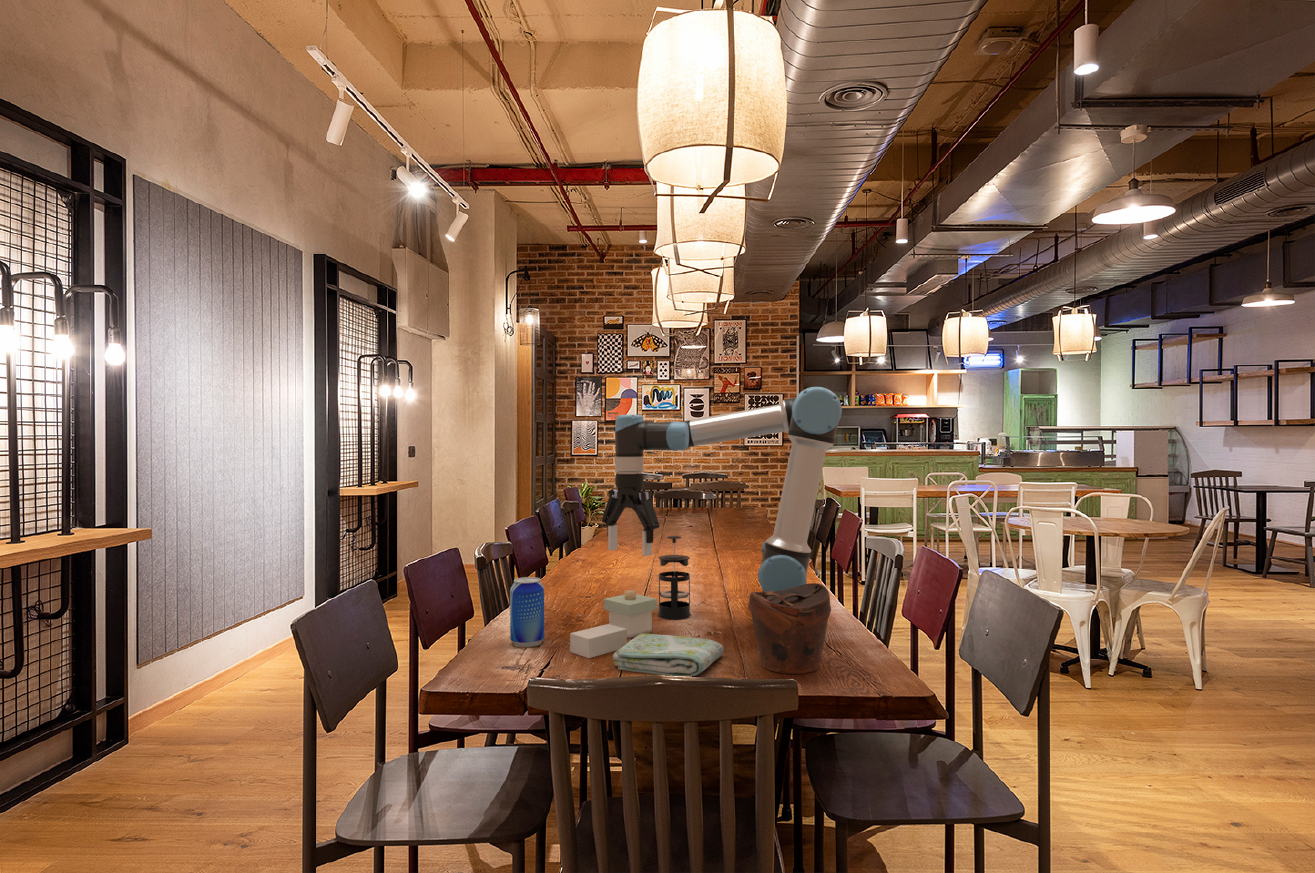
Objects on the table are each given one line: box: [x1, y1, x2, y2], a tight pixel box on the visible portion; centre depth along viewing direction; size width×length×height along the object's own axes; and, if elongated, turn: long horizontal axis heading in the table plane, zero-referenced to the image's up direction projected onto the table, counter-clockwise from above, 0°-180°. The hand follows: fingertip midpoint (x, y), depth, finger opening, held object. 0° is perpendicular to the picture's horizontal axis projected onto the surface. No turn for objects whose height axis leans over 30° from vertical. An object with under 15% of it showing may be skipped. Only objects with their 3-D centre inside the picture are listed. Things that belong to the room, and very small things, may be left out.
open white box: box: [608, 610, 653, 639], centre depth 188 cm, size 8×8×6 cm
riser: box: [569, 623, 628, 659], centre depth 173 cm, size 7×12×4 cm, turn 135°
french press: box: [657, 535, 692, 621], centre depth 206 cm, size 12×9×23 cm
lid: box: [603, 589, 658, 616], centre depth 188 cm, size 10×10×5 cm
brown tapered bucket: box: [747, 582, 832, 675], centre depth 160 cm, size 18×20×18 cm
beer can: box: [509, 576, 545, 648], centre depth 178 cm, size 8×8×16 cm
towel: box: [612, 633, 725, 677], centre depth 163 cm, size 18×21×5 cm
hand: (629, 552), depth 189 cm, fingers open, 13 cm apart
